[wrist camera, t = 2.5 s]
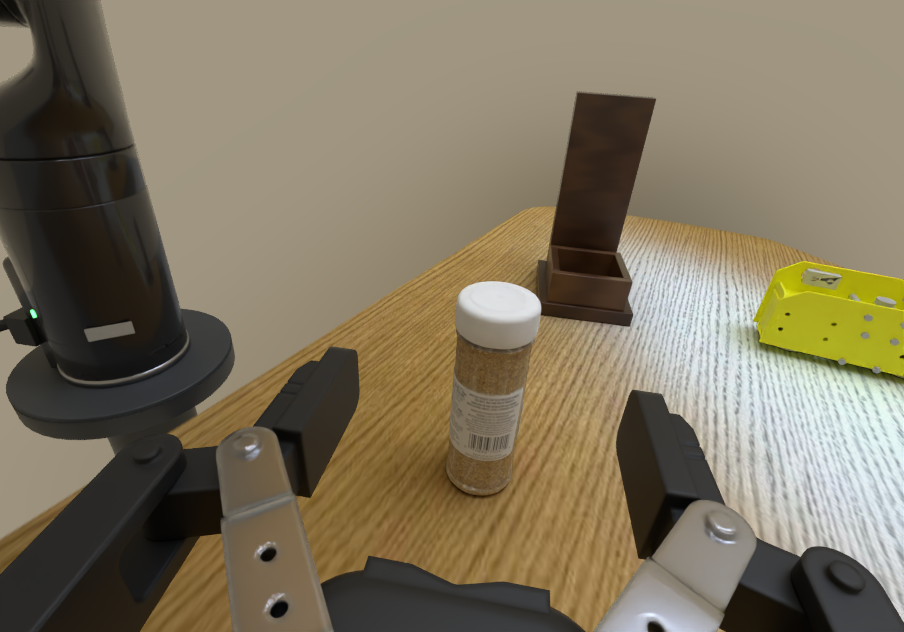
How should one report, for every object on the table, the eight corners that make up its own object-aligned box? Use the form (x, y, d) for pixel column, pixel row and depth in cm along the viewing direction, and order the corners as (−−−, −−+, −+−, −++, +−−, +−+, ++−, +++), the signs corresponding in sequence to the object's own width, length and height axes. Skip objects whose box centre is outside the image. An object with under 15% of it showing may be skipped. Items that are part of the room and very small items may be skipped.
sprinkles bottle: (515, 454, 33) (546, 285, 26) (505, 507, 29) (539, 325, 22) (453, 439, 34) (467, 272, 27) (436, 489, 30) (447, 309, 23)
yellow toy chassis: (927, 365, 46) (981, 292, 42) (954, 398, 42) (1017, 319, 37) (749, 324, 51) (781, 255, 47) (756, 350, 47) (791, 275, 43)
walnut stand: (536, 314, 50) (574, 99, 40) (536, 270, 61) (566, 90, 50) (629, 326, 49) (695, 109, 39) (613, 279, 60) (661, 97, 49)
